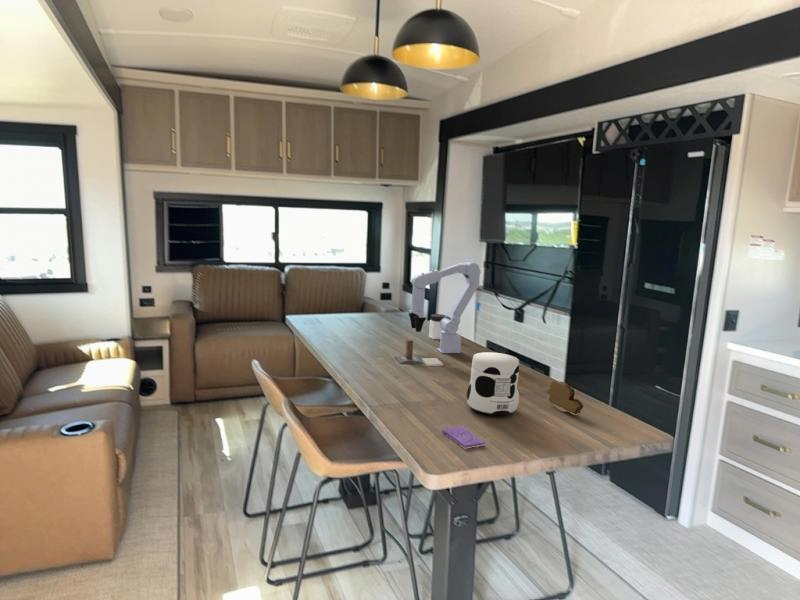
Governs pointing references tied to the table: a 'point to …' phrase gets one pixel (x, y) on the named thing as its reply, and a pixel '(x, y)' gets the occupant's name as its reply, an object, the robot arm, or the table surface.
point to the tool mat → (407, 362)
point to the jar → (435, 326)
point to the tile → (432, 362)
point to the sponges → (463, 436)
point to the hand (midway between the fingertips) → (416, 329)
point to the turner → (409, 352)
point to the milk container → (494, 383)
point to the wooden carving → (564, 397)
